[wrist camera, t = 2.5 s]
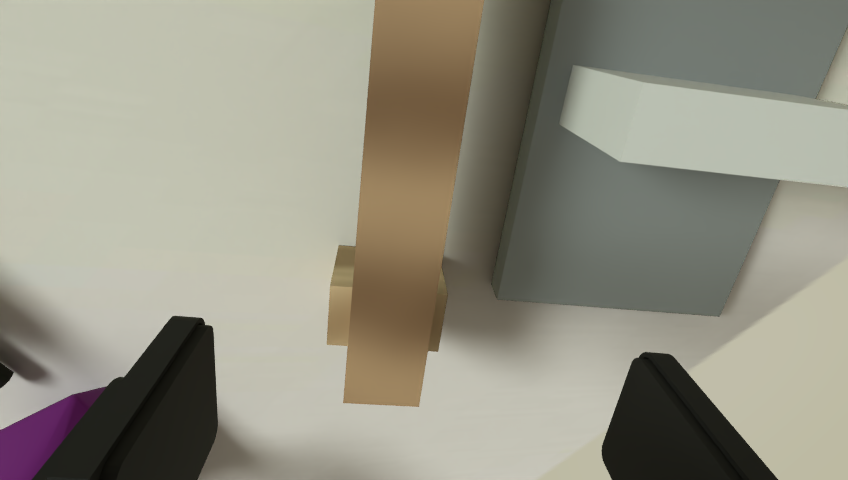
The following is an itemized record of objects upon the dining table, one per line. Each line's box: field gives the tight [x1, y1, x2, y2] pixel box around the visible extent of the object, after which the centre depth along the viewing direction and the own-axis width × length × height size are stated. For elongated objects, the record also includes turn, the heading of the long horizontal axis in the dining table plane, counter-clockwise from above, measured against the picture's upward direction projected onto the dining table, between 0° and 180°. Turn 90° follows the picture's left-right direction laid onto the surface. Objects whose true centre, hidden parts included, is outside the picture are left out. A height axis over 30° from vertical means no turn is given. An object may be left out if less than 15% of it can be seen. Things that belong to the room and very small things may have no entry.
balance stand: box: [491, 0, 848, 317], centre depth 19 cm, size 20×12×8 cm, turn 173°
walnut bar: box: [343, 0, 484, 407], centre depth 16 cm, size 24×3×3 cm, turn 173°
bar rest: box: [327, 245, 448, 352], centre depth 19 cm, size 23×5×4 cm, turn 173°
